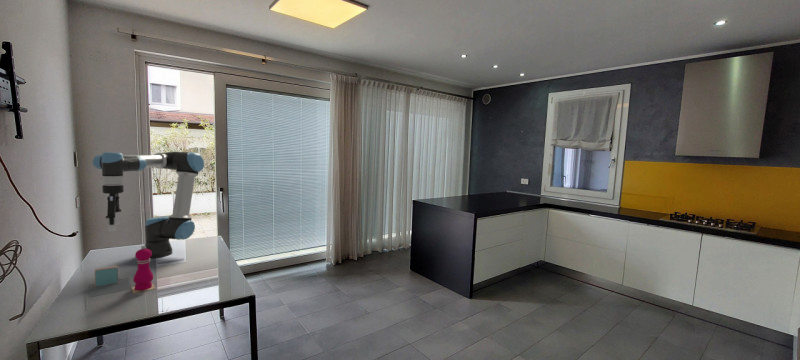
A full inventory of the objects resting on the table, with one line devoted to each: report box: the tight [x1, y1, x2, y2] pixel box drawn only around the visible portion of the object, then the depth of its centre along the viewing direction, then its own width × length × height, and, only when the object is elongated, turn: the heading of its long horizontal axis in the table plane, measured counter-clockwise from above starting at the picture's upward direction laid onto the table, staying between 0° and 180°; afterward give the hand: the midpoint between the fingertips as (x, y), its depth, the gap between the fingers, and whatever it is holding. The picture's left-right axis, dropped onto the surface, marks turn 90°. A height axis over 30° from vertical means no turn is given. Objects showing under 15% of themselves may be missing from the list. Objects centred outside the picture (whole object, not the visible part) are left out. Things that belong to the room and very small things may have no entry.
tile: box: [94, 265, 119, 287], centre depth 151 cm, size 8×2×8 cm, turn 135°
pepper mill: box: [133, 245, 154, 290], centre depth 149 cm, size 7×7×20 cm
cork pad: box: [131, 282, 156, 294], centre depth 149 cm, size 8×8×1 cm
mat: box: [88, 277, 132, 298], centre depth 149 cm, size 14×17×1 cm
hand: (114, 228), depth 155 cm, fingers open, 13 cm apart
